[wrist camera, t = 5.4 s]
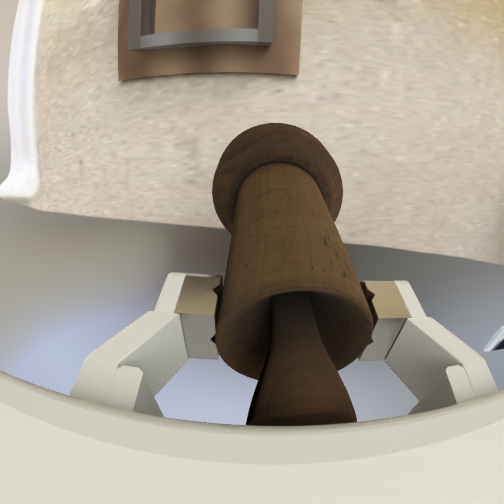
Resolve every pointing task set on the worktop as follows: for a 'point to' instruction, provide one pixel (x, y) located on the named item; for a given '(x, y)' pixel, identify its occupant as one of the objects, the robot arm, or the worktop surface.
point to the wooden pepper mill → (287, 278)
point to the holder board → (208, 37)
